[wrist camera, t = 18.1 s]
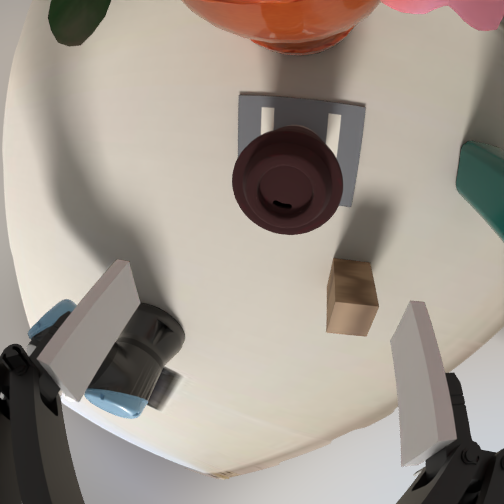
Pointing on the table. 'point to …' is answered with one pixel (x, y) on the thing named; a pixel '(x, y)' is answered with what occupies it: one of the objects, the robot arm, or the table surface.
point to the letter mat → (313, 117)
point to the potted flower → (276, 19)
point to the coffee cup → (288, 181)
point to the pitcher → (483, 182)
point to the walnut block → (351, 298)
